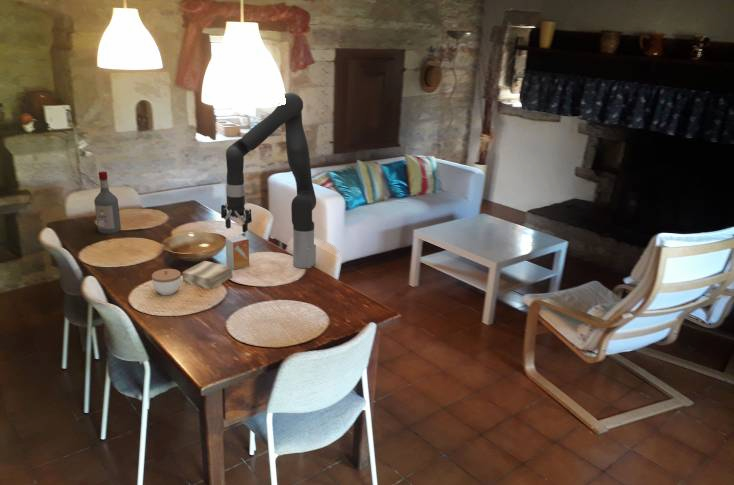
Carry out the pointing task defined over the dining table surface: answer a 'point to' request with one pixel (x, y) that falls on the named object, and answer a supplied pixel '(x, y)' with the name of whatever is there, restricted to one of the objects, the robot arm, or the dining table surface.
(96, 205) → the liquor
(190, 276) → the birch plinth
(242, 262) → the small box
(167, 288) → the lidded jar
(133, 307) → the dining table surface
